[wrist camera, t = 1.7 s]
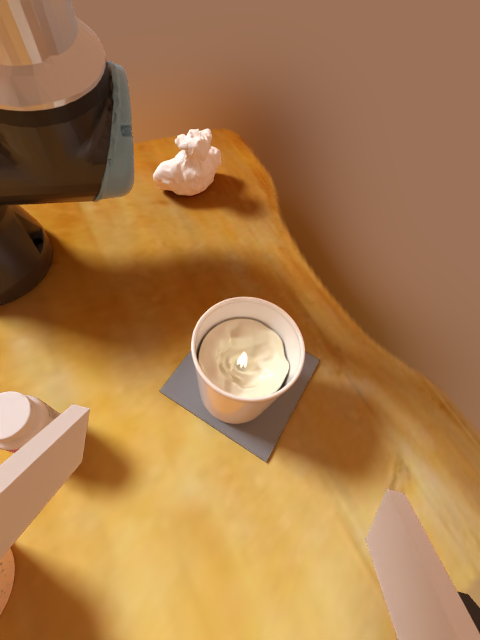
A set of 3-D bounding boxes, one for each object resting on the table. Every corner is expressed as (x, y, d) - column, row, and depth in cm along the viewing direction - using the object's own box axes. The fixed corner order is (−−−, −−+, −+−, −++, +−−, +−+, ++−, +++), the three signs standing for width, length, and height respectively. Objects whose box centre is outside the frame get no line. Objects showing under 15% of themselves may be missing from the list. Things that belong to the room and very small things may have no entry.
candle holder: (265, 344, 42) (287, 290, 32) (286, 422, 38) (320, 389, 27) (187, 355, 40) (183, 302, 30) (199, 440, 36) (200, 411, 25)
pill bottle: (35, 470, 33) (-10, 459, 26) (8, 435, 34) (-42, 415, 27) (78, 433, 35) (47, 413, 28) (51, 402, 36) (14, 375, 29)
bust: (160, 211, 55) (181, 192, 45) (137, 165, 53) (154, 134, 43) (219, 187, 59) (251, 164, 49) (201, 143, 57) (229, 111, 47)
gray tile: (159, 391, 38) (159, 390, 38) (225, 306, 45) (225, 304, 44) (265, 462, 36) (266, 461, 35) (319, 360, 42) (319, 359, 42)
